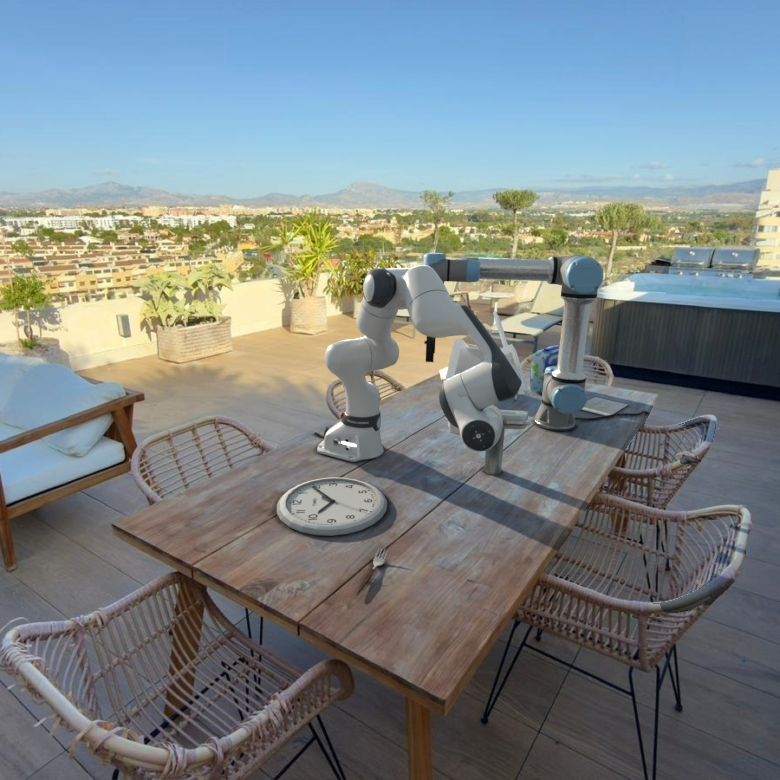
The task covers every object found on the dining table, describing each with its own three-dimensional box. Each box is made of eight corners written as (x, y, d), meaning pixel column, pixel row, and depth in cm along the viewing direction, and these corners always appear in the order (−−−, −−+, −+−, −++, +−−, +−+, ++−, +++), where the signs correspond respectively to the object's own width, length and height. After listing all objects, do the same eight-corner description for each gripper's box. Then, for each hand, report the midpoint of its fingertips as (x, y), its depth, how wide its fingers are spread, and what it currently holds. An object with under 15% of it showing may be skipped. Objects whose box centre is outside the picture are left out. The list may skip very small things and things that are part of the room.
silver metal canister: (503, 473, 163) (508, 420, 158) (488, 475, 162) (492, 421, 156) (496, 466, 168) (500, 414, 162) (481, 468, 166) (485, 415, 161)
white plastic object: (461, 429, 252) (437, 405, 227) (444, 352, 274) (420, 323, 250) (535, 404, 240) (518, 377, 215) (510, 326, 262) (492, 293, 237)
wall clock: (392, 527, 129) (268, 531, 127) (391, 533, 130) (269, 537, 127) (383, 473, 158) (282, 475, 155) (383, 478, 158) (282, 480, 156)
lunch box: (546, 398, 236) (551, 353, 229) (525, 393, 243) (529, 349, 237) (573, 387, 253) (579, 344, 247) (553, 382, 260) (558, 341, 254)
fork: (350, 595, 108) (350, 587, 107) (378, 552, 122) (379, 545, 122) (362, 598, 107) (362, 590, 106) (389, 555, 121) (389, 547, 121)
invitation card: (608, 416, 214) (573, 407, 224) (608, 416, 214) (573, 408, 224) (628, 404, 229) (594, 396, 238) (628, 405, 229) (594, 397, 238)
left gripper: (529, 411, 123) (530, 402, 136) (443, 407, 128) (452, 399, 141) (528, 437, 124) (529, 426, 137) (443, 432, 129) (451, 421, 142)
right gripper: (424, 293, 195) (422, 349, 202) (419, 302, 172) (417, 365, 178) (444, 294, 195) (441, 350, 201) (442, 303, 171) (439, 366, 177)
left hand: (489, 412), depth 139 cm, fingers open, 8 cm apart
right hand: (430, 357), depth 190 cm, fingers open, 13 cm apart
